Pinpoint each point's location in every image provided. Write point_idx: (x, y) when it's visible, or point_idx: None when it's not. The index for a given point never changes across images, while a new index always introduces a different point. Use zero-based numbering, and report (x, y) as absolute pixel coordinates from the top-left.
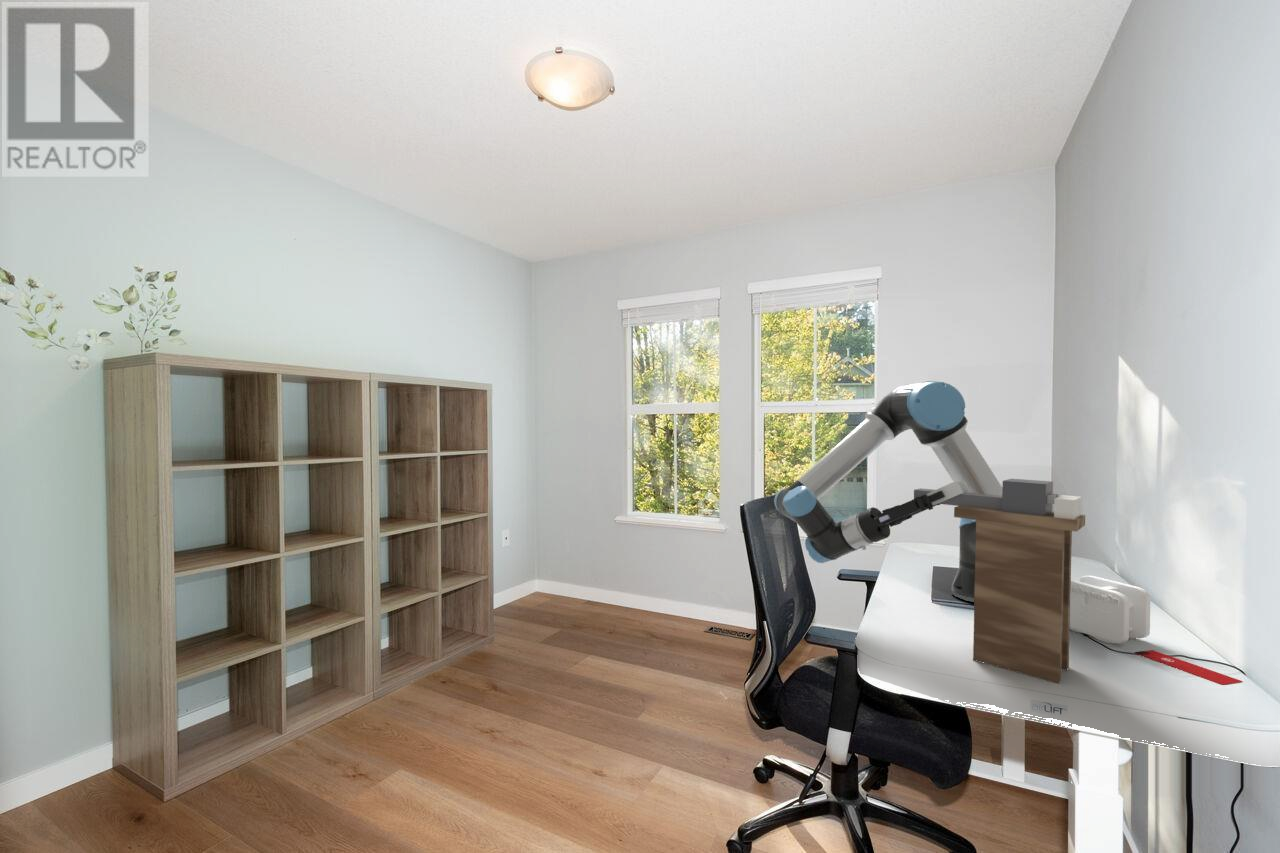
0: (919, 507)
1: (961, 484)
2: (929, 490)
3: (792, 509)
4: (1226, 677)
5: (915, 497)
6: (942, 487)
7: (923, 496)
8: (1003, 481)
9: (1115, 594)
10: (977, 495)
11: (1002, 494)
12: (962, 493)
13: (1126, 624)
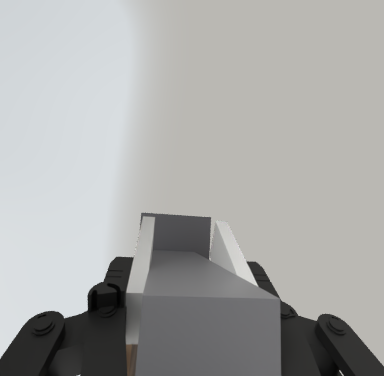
0: (339, 373)
1: (153, 233)
2: (214, 279)
3: None
4: None
5: (274, 355)
6: (238, 248)
7: (291, 310)
8: (210, 218)
9: None
10: (200, 256)
11: (209, 244)
12: (191, 260)
13: None
